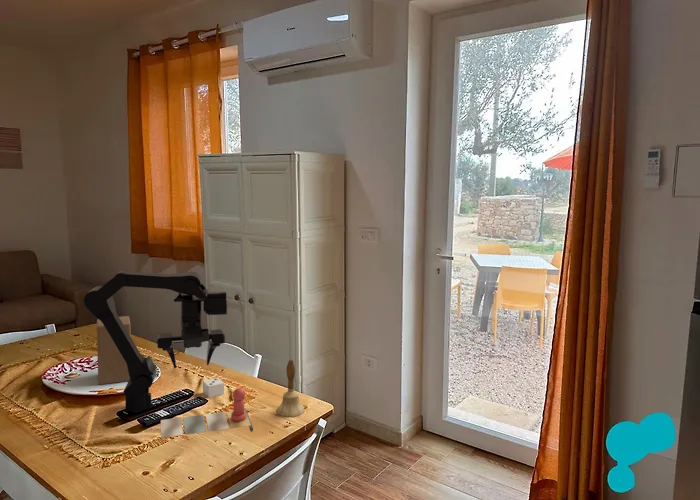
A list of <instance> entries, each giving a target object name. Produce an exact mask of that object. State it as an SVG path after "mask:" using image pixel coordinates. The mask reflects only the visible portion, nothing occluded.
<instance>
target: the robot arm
mask: <svg viewBox="0 0 700 500" xmlns="http://www.w3.org/2000/svg"><path fill="white" fill-rule="evenodd" d="M124 287H127V288H128V287H130V288H131V287H132V288H143V289H144V288H145V289H161V290H162V289H163V290H164V289H165V290H170V291H173V292H175V293H178V294H177V295H176V296H174V298H173V301H174V302H175V303H177V302H178V303H180V335H173V336H172V332H165V333H158V335H157V337H156V338H157V339H156V341H157V343H156V345H157V349H160V350H161V349H162V350H161V351H164V352H166V353H167V354H168V356H169V357H170V361H171V362H172V365H173V368H174V369H177V364H176V363H177V362H176V356H175V355H176V354H175V349H174V344H178V343H179V344H180V343H183V347H184V348H185V349H190V348H201V347H202V345H203V343H206V342H207V348H206V349H207V351H206V366H209V364H210V361H211V360H212V356H213V354H214V351H215V349H216V348H217V347H220V346H221V344H226V336H225V333H224V330H222V329H209V328H203V327H202V302H203V313H205V314H206V315H207V316H227V315H228V300H227V291H220V292H209V290H208V288H206V286H205V284H203V281H202V277H201V275H200V274H199V273H198V272H196V271H185V272H177V273H173V274H172V273H170V274H168V273H152V272H138V271H137V272H136V271H127V270H120V271H118V272H117V273H116V274H115V275H114V276H113V277H111V279H109V280H108V281H107V282H105V283H104V284H102V285H98V286H95V287H94V288H92V289H91V290H89V291H88V292H87V293H86V294H85V296H84V298H83V306H85V308H86V309H87V310H88V311H89V313H90V314H91V315H92V316H93V317H94V318H96V320H97V319H99V320H100V321H101V322H102V323H103V325H104V326H105V328H106V330H107V332H108V333H109V335H110V337H111V338H112V340H113V342H114V343H115V345H116V347H117V348H118V350H119V352H120V353H121V355H122V357H123V358H124V360H125V362H126V364H127V368H128V373H129V377H130V379H129V381H127V383H126V386H125V387H124V390H123V393H124V399H125V403H124V404H125V412H130V413H131V412H132V413H139V412H143V411H145V410H149V409H151V408H152V393H151V392H150V388H151V387H152V385H153V383H154V380H155V377H156V375H157V365H156V364H155V362H154V361H153V359H152V356H151V355H148V356H146V357H145V356H144V355H143V354H142V353H141V352H140V351H139V349H138V347H137V346H136V343H135V342H134V340H133V339H132V336H131V337H130V335H129V333H128V332H127V330H126V328H125V326H124V325H123V323H122V321H121V320H120V318H119V317H120V316H119V315H118V313H117V309H116V304H115V300H114V297H113V296H114V295H115V294H116V293H117V292H118V291H120V290H121V289H122V288H124Z"/></svg>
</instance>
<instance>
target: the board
mask: <svg viewBox="0 0 700 500" xmlns="http://www.w3.org/2000/svg"><path fill="white" fill-rule="evenodd" d="M244 411H245V412H246V419H245V420H244V421H241V422H235V421H232V420H231V413H232V412H233V410H231V411H226V412H225V411H222V412H214V413H206V414H205V418H204V414H199V415H192V416H191V415H190V416H184V417H183V418H182V417H175V418H167V419H166V418H165V419H161V420H160V438H161V439H164V438H170V437H171V438H172V437H177V436H183V435H192V434H199V433H205V432H207V430H208V432H212V431H213V432H214V431H221V430H228V429H229V430H230V428H231V429H236V428H242V427H243V428H244V427H248V428H249V431H250V432H254V427H253V424H252V422H251V420H250V416H249V413H248V411H247V409H246V408H245V407H244ZM226 414H227V415H226ZM226 416H227V417H226ZM182 419H183V422H182ZM227 419H228V420H227ZM205 420H206V423H205ZM228 422H229V423H228ZM206 424H207V427H206ZM229 425H230V426H229ZM183 426H184V427H183ZM183 428H184V432H183Z"/></svg>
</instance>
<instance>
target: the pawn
mask: <svg viewBox="0 0 700 500" xmlns="http://www.w3.org/2000/svg"><path fill="white" fill-rule="evenodd" d="M232 398H233V406H232V407H233V410H232V411H233V412H232V413H231V420H232V421H235V422H241V421H244V420H245V419H246V412H245V411H244V409H245V398H246V391H245V389H244V388H241V387H237V388H235V389H234V390H233V392H232Z"/></svg>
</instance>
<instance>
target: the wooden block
mask: <svg viewBox="0 0 700 500" xmlns="http://www.w3.org/2000/svg"><path fill="white" fill-rule="evenodd" d="M119 318H120V320H121V321H122V323H123V325H124V326H125V328H126V330H127V332H128V333H129V335H130V337H131V338H132V336H131V335H132V333H131V332H132V331H131V328H132V326H131V320H130V316H129V315H125V316H124V315H123V316H119ZM96 352H97V382H98V385H101V384H102V385H107V384H117V383H124V382H125V383H126V382H128V381H129V379H130V377H129V373H128V368H127V364H126V362H125V360H124V358H123V357H122V355H121V353H120V352H119V350H118V348H117V347H116V345H115V343H114V342H113V340H112V338H111V337H110V335H109V333H108V332H107V330H106V328H105V326H104V325H103V323H102V322H101V321H100V320H99V319H97V318H96Z"/></svg>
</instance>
